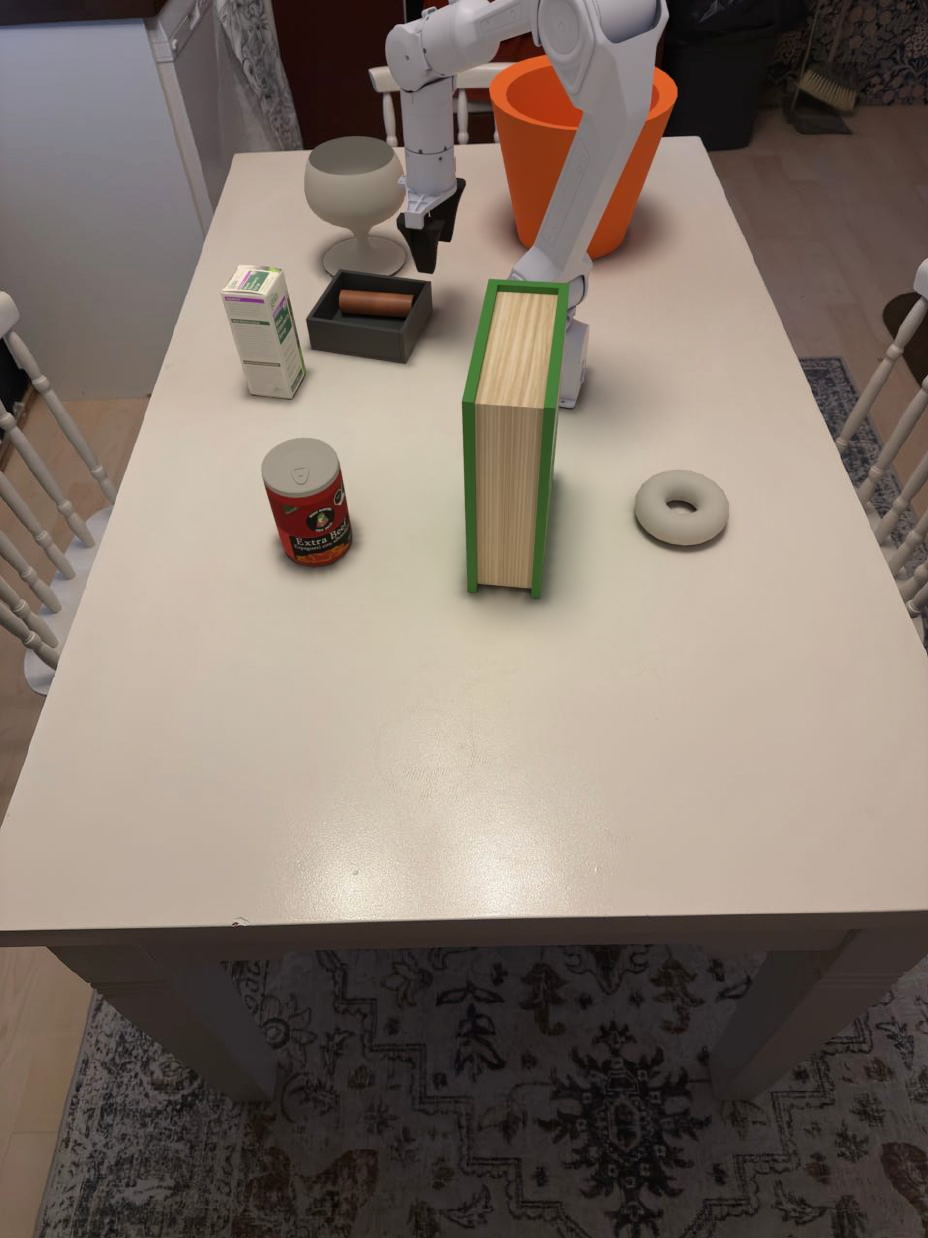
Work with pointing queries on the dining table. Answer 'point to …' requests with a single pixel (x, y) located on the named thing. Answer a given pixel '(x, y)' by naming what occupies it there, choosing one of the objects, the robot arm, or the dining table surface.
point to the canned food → (308, 500)
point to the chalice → (356, 200)
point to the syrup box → (264, 330)
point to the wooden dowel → (376, 303)
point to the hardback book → (512, 431)
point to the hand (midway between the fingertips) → (434, 255)
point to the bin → (369, 318)
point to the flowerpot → (564, 147)
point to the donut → (681, 525)
